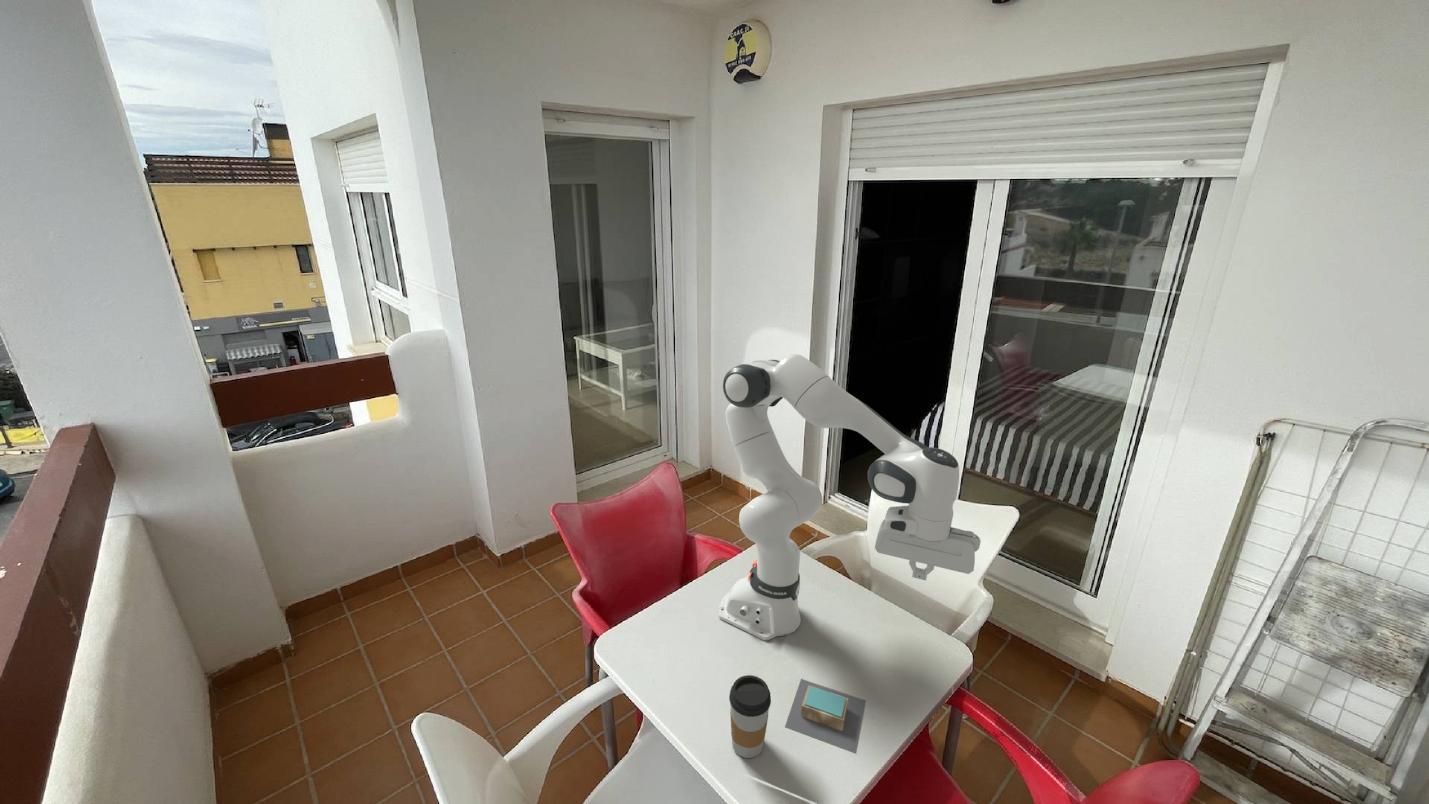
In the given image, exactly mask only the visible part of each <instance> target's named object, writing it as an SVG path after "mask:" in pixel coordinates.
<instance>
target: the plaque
mask: <svg viewBox="0 0 1429 804" xmlns="http://www.w3.org/2000/svg"><path fill="white" fill-rule="evenodd" d="M847 705H848V698H845V697H842V696H839V695H836V694H833V693H830V692H827V691H825V690H822V689H819V688H816V687H813V686H810V685H808V687H807V691H806V694H805V697H804V700H803V703H802V708H801V716H802V717H805V718H807V719H810V720H813V721H816V722H818V723H821V724H824V725H827V726H830V727H832V728H835V729H838V730H841V731H842V729H843V725H844V720H845V716H846V711H847Z"/></svg>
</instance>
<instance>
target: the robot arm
mask: <svg viewBox="0 0 1429 804" xmlns="http://www.w3.org/2000/svg"><path fill="white" fill-rule="evenodd" d="M722 389H723V394H724V396H725V398H726V400H727V401H728V403H729V404H728V406H726V408H725V412H724V415H725V421H726V426H727V430H728V434H729V437H730V440H731V443H732V446H733V448H734V451H735V454H736V456H737V458H738V461H739V464H740V466H741V468H742V471H743V472H744V473H745V475H746V476H748V477H749V478H751V479H756V480H758V481H759V482H761V484H762V485H763V486H764V487H765V489H766V490H767V492H764V493H762V494H760V495H758V496H757V497H754V498H753V499H752V500H750V501H749V502H748V503H746V504H745V505H744V506H743V507H742V508H741V510H740V511H739V514H738V515H739V516H738V517H739V518H738V523H739V526H740V530H741V531H742V533H743V535H744V537H746V538H747V539H748V540H750V541H751V542H753V543H755V546H756V550H757V551H756V552H757V555H756V557H757V558H756V559H755V560H753V563H752V564H751V566H752V567H751V569H750V570H749V574H748V576H745V577H740V579H738V580H737V581H736V582H735V583H734V585H732V587H731V589H730V590H729V591H727V592H726V594H725V595H724V596H723V598H722V599H721V601H720V603H719V607H718V612H717V613H718V618H719V619H720V620H722V621H724V622H726V623H728V624H730V625H731V626H734V627H736V628H738V629H740V630H742V631H745V632H746V633H748V634H750V635H753V636H755V637H756V638H758V639H760V640H763V641H769V640H772V639H773V638H775V637H781V636H786V635H790V634H792V633H794V632H795V631H796V630H797V629H798V628H799V627H800V626H801V622H802V617H801V614H800V609H799V599H798V596H799V594H800V589H801V588H800V587H801V577H800V572H799V571H800V560H801V550H800V548H799V546H798V545H797V543H795V541H794V540H792V538H790V535H791V533H792V531H793V530H794V529H795V528H797V527H799V526H801V525H802V524H804V523H807V522H808V521H810V520H811V519H812V518H813V517H814V516H816V515H817V513H818V512H819V511H820V510H821V509H822V506H823V501H824V500H823V495H822V492H821V490H820V488H819V487H818V485H817V484H816V483H815V482H813V481H812V480H809V479H807V478H806V477H804V476H801V474H799V473H798V472H797V471H796V470H795V468H793V467H792V465H791V464H790V463H789V462H788V460H787V457H786V456H785V454H784V452H783V451H782V448H781V446H780V443H779V442H778V439H777V437H776V434H775V431H774V429H773V427H772V424H771V423H770V420H769V416H768V411H769V410H768V409H769V407H776V405H778V403H779V402H780V401H781V400H782V399H784V400H785V401H787V402H788V403H789V404H790V405H791V406H792V407H793V409H794V410H795V411H796V412H797V413H798V414H799V415H800V416H801V417H802V418H803V419H805V420H806V421H807V422H808V423H809V424H811V425H813V426H814V427H817V428H822V429H834V428H836V429H837V428H838V429H847V430H851V431H854V432H857V433H859V434H860V435H861V436H863V437H864V438H865V439H867V440H868V441H869V442H870V443H872V445H874V446H875V447H876V448H877V449H879V450H880V451H881V452H882V453H884V454H883V455H881V456H880V457H879V458H877V459H876V460H875V461H873V462H872V463H871V464H870V465H869V467H868V470H867V480H868V483H869V486H870V488H871V490H872V491H873V492H874V493H875V494H876V495H877V496H878V497H880V498H882V499H884V500H887V501H891V502H895V503H900V504H908V505H898V506H890V507H888V509H887V511H886V512H885V516H884V519H883V520H882V521H881V523H880V526H879V529H878V532H877V534H876V535H877V536H876V539H875V544H874V549H875V551H876V552H877V553H878V554H882V555H886V556H890V557H895V558H900V559H903V560H907V561H908V564H909V566H910V569H911V571H912V576H911V577H912V578H915V579H919V580H923V581H927V578H928V575H929V574H930V573H932V571H934V570H935V567H936V568H941V569H945V570H949V571H953V572H957V573H962V574H967V575H969V574H972V573H973V572H974V570H975V561H976V555H975V554H976V552H977V551H978V550H980V547H981V538H980V537H979V536H978V534H975V532H973V531H972V530H963V529H961V528H957V527H952V523H953V518H954V509H953V508H954V507H953V506H954V504H955V501H956V499H957V497H958V493H959V492H958V491H959V483H960V466H959V462H958V460H957V459H956V457H955V456H953V454H952V453H950V452H948V451H947V450H944V449H941V448H937V447H932V446H931V447H930V446H929V447H928V446H927V445H926V444H924V443H923V442H921V441H919V440H916V439H914V438H912V437H909V436H907V435H905V434H904V433H903V432H901V431H900V430H899V429H897V428H896V427H895V426H894V425H893V424H892V423H891V422H889V421H888V420H887V419H885V418H884V417H883V416H882V415H880V414H879V413H878V412H877V411H875V410H874V409H873V408H871V406H869V405H868V404H866V403H864V402H863V401H861V400H860V399H858V398H856V397H855V396H853V395H852V394H850V393H849V392H848V391H846V390H845V389H844V388H842V386H840V385H839V384H838V383H837V382H835V380H833V378H831V377H830V376H829V375H828V374H827V373H826V372H825V371H823V370H822V369H821V368H820V367H819V366H817V365H816V364H815V363H813V362H812V361H810V360H809V359H808V358H806V357H805V356H802V355H801V354H798V353H795V354H789V355H787V356H785V357H783V358H782V359H781V360H778V359H768V360H767V359H764V360H763V359H762V360H755V361H752V362H747V363H745V364H743V363H742V364H738V365H736V366H734V367H732V368H731V369H729V370H728V371H727V372H726V374H725V376H724V377H723V381H722ZM917 563H920V564H924V565H926V566H925V568H920V567H918V566H917Z"/></svg>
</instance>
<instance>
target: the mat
mask: <svg viewBox="0 0 1429 804" xmlns="http://www.w3.org/2000/svg"><path fill="white" fill-rule="evenodd" d="M808 685H810V686H813V687H816V688H819V689H822V690H825V691H827V692H830V693H833V694H836V695H839V696H842V697H845V698H848V705H847V711H846V716H845V720H844V725H843V729H842V731H841V730H838V729H835V728H832V727H830V726H827V725H824V724H821V723H818V722H816V721H813V720H810V719H807V718H805V717H802V716H801V708H802V703H803V700H804V697H805V694H806V691H807V687H808ZM796 689H797V690H796V693H795V696H794V699H793V702H792V704H791V708H790V710H789V714H788V716H787V719H786V723H785V726H784V728H786V729H788V730H791V731H794V732H797V733H799V734H802V735H805V736H807V737H810V738H813V739H816V740H818V741H821V742H824V743H827V744H829V745H832V746H835V747H837V748H839V749H843V750H844V751H848V752H851V753H853V754H857V749H858V744H859V739H860V733H861V729H862V723H863V719H864V718H863V717H864V713H865V708H866V707H865V706H866V699H862V698H860V697H858V696H854V695H850V694H847V693H844V692H841V691H838V690H836V689H833V688H829V687H827V686H824V685H820V684H817V683H815V682H812V681H809V680H806V679H803V678H800V680H799V684H798V687H797V688H796Z"/></svg>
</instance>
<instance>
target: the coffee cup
mask: <svg viewBox="0 0 1429 804" xmlns="http://www.w3.org/2000/svg"><path fill="white" fill-rule="evenodd" d="M728 698H729V703H730V709H729V710H730V734H731V744H732V749H733V751H734V752H735V753H736V754H737V755H738V756H740V757H742V758H744V759H753V758H756V757H758V756H759V755H760V754H761V752H762V751H763V748H764V743H765V742H764V741H765V738H766V732H767V724H768V720H769V719H768V718H769V711H770V707H771V704H772V700H771V698H772V696H771V691H770V689H769V686H768V684H767V683H766V681H764V679H762V678H761V677H758V676H756V675H751V674H750V675H749V674H747V675H743V676H740V677H738V678H737V679H736V680H735V681H734V682H733V684H732V685H731V688H730V689H729V697H728Z"/></svg>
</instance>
